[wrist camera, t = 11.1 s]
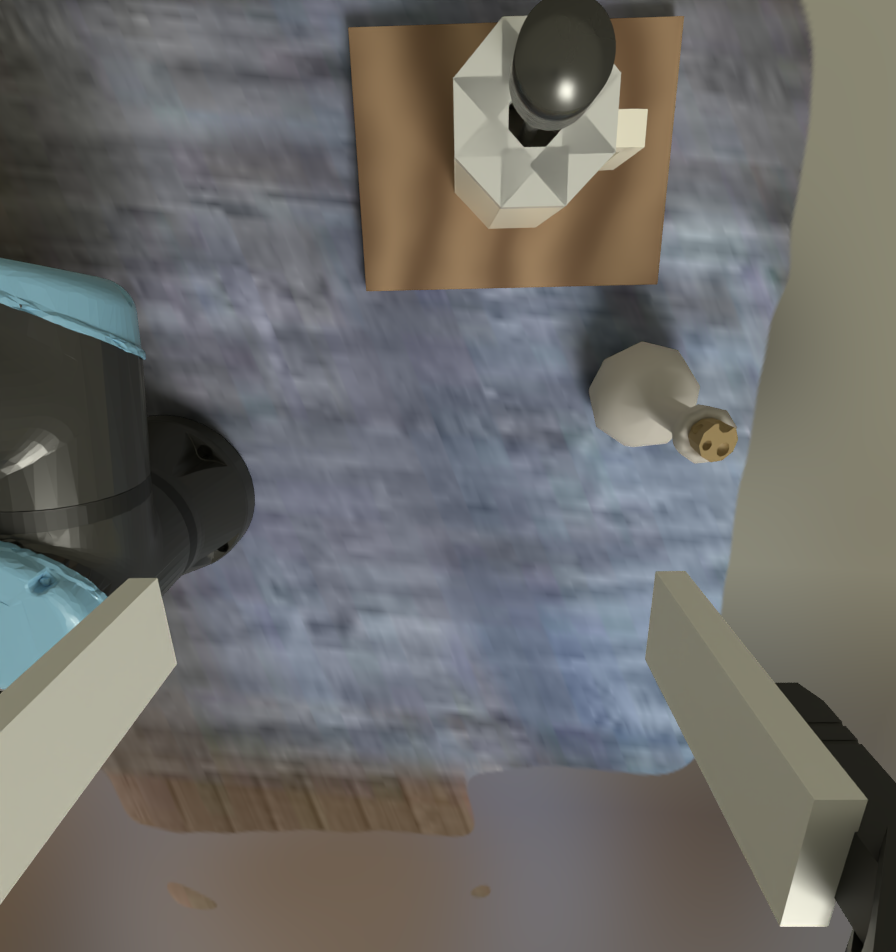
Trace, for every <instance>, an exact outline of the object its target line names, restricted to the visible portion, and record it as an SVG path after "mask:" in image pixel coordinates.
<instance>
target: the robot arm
mask: <svg viewBox="0 0 896 952" xmlns="http://www.w3.org/2000/svg"><path fill="white" fill-rule="evenodd" d="M143 359H144V360H145V359H146V354H145V351H144V350H142V348H141V342H140V334H139V326H138V318H137V311H136V306H135V303H134V301H133V299H132V298H131V296H130V295H129V294H128V292H127V291H126V290H125V289H123V288H122V287H121V286H120V285H118V284H117V283H115V282H113V281H110V280H108V279H104V278H100V277H96V276H91V275H86V274H81V273H76V272H71V271H66V270H61V269H56V268H51V267H46V266H41V265H36V264H31V263H25V262H20V261H15V260H10V259H5V258H0V689H5V690H4V691H0V904H1V903H2V901H3V900H4V898H5V897H6V896H7V894H8V893H9V892H10V890H11V889H12V887H13V886H14V885H15V884H16V882H17V881H18V879H19V878H20V877H21V875H22V874H23V873H24V871H25V870H26V868H27V867H28V866H29V864H30V863H31V862H32V860H33V859H34V858H35V856H36V855H37V854H38V852H39V851H40V850H41V848H42V847H43V845H44V844H45V843H46V841H47V840H48V839H49V837H50V836H51V835H52V833H53V832H54V830H55V829H56V828H57V826H58V825H59V824H60V822H61V821H62V820H63V818H64V817H65V816H66V814H67V813H68V811H69V810H70V809H71V807H72V806H73V805H74V803H75V802H76V801H77V799H78V798H79V796H80V795H81V793H82V792H83V791H84V790H85V788H86V787H87V786H88V784H89V783H90V782H91V780H92V779H93V777H94V776H95V775H96V773H97V772H98V771H99V769H100V768H101V767H102V765H103V764H104V762H105V761H106V760H107V758H108V757H109V756H110V754H111V753H112V752H113V750H114V749H115V747H116V746H117V745H118V743H119V742H120V741H121V739H122V738H123V737H124V735H125V734H126V733H127V731H128V730H129V728H130V727H131V726H132V724H133V723H134V722H135V720H136V719H137V718H138V716H139V715H140V713H141V712H142V711H143V709H144V708H145V707H146V705H147V704H148V703H149V701H150V700H151V699H152V697H153V696H154V694H155V693H156V692H157V690H158V689H159V688H160V686H161V685H162V684H163V682H164V681H165V679H166V678H167V677H168V675H169V674H170V673H171V671H172V670H173V669H174V667H175V666H176V665H177V662H176V658H175V653H174V649H173V644H172V640H171V636H170V631H169V627H168V622H167V618H166V614H165V609H164V605H163V601H162V596H163V595H164V594H165V593H166V592H167V591H168V590H169V589H170V588H171V586H172V585H173V584H174V583H175V582H176V581H177V580H178V579H179V578H180V577H181V576H182V575H184V574H187V573H189V572H192V571H195V570H197V569H200V568H202V567H205V566H208V565H210V564H212V563H214V562H216V561H218V560H219V559H221V558H222V557H223V556H225V555H226V554H227V553H228V552H230V551H231V550H232V548H233V547H234V546H235V545H236V544H237V543H238V542H239V540H240V539H241V538H242V537H243V535H244V534H245V533H246V531H247V529H248V527H249V525H250V523H251V520H252V517H253V513H254V506H255V495H254V488H253V483H252V480H251V477H250V474H249V471H248V469H247V467H246V465H245V463H244V462H243V460H242V458H241V457H240V456H239V454H238V453H237V452H236V450H235V449H234V448H233V447H232V446H231V445H230V444H229V443H228V442H227V441H226V440H225V439H224V438H223V437H221V436H220V435H219V434H217V433H216V432H215V431H213V430H211V429H210V428H208V427H206V426H204V425H202V424H200V423H198V422H195V421H193V420H190V419H186V418H182V417H177V416H169V415H158V416H149V417H147V409H146V396H145V383H144V370H143ZM645 660H646V662H647V664H648V666H649V668H650V670H651V672H652V674H653V676H654V678H655V680H656V682H657V684H658V686H659V688H660V690H661V692H662V694H663V696H664V698H665V700H666V702H667V704H668V706H669V708H670V710H671V711H672V713H673V715H674V717H675V719H676V721H677V723H678V725H679V727H680V729H681V731H682V733H683V735H684V737H685V739H686V741H687V743H688V745H689V747H690V749H691V751H692V753H693V755H694V757H695V759H696V761H697V763H698V765H699V767H700V769H701V771H702V773H703V775H704V777H705V779H706V781H707V783H708V785H709V787H710V789H711V791H712V793H713V795H714V797H715V799H716V801H717V803H718V805H719V807H720V809H721V811H722V813H723V814H724V817H725V819H726V821H727V823H728V824H729V827H730V828H731V830H732V832H733V834H734V836H735V838H736V840H737V842H738V844H739V846H740V848H741V850H742V852H743V854H744V856H745V858H746V860H747V862H748V864H749V866H750V868H751V870H752V872H753V874H754V876H755V878H756V880H757V882H758V884H759V886H760V888H761V890H762V892H763V894H764V896H765V898H766V900H767V902H768V904H769V906H770V908H771V910H772V912H773V914H774V916H775V918H776V920H777V922H778V924H779V926H782V927H815V926H816V927H823V926H825V927H827V926H828V925H829V921H830V918H831V915H832V912H833V909H834V906H835V902H836V901H837V903H838V905H839V906H840V908H841V909H842V911H843V913H844V914H845V916H846V917H847V919H848V921H849V922H850V924H851V926H852V927H853V930H852V933H851V936H850V939H849V942H848V945H847V948H846V951H845V952H896V783H895V782H894V780H893V779H892V778H891V777H890V776H889V775H888V774H887V772H886V771H885V770H884V769H883V768H882V767H881V766H880V765H879V763H878V762H877V761H876V760H875V759H874V758H873V757H872V755H871V754H870V753H869V752H868V751H867V750H866V749H865V747H864V746H863V745H862V744H859V743H858V740H857V738H855V736H854V735H853V734H852V733H851V732H850V730H848V728H847V727H846V726H843V725H842V721H841V720H840V719H839V718H838V717H837V716H836V715H835V713H834V712H833V711H832V710H831V709H830V708H829V707H828V705H827V704H826V703H825V702H824V701H823V700H821V699H820V698H819V697H817V696H816V695H814V694H813V693H811V692H810V691H808V690H807V689H806V688H804V687H803V686H801V685H800V684H798V683H774V681H773V680H772V679H771V678H770V676H769V675H768V674H767V673H766V671H765V670H764V669H763V668H762V667H761V665H760V664H759V663H758V661H757V660H756V659H755V658H754V656H753V655H752V654H751V653H750V651H749V650H748V649H747V648H746V646H745V645H744V644H743V643H742V641H741V640H740V639H739V638H738V637H737V635H736V634H735V633H734V632H733V630H732V629H731V628H730V626H729V625H728V624H727V623H726V621H725V620H724V619H723V618H722V616H721V615H720V614H719V613H718V611H717V610H716V609H715V608H714V606H713V605H712V604H711V603H710V601H709V600H708V599H707V598H706V596H705V595H704V594H703V593H702V591H701V590H700V589H699V588H698V586H697V585H696V584H695V583H694V581H693V580H692V579H691V578H690V576H689V575H688V574H687V573H686V571H657V572H656V573H655V581H654V590H653V598H652V607H651V615H650V623H649V632H648V640H647V649H646V657H645Z"/></svg>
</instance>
